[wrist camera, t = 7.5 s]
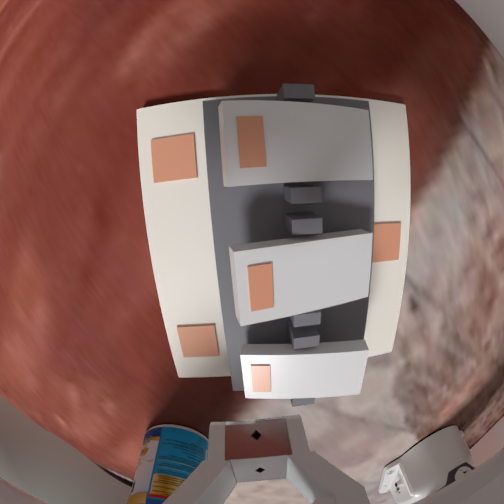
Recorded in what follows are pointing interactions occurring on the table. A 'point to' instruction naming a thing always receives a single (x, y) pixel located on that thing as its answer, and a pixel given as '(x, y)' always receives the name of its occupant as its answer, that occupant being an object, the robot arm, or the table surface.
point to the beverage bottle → (166, 462)
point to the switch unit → (264, 232)
